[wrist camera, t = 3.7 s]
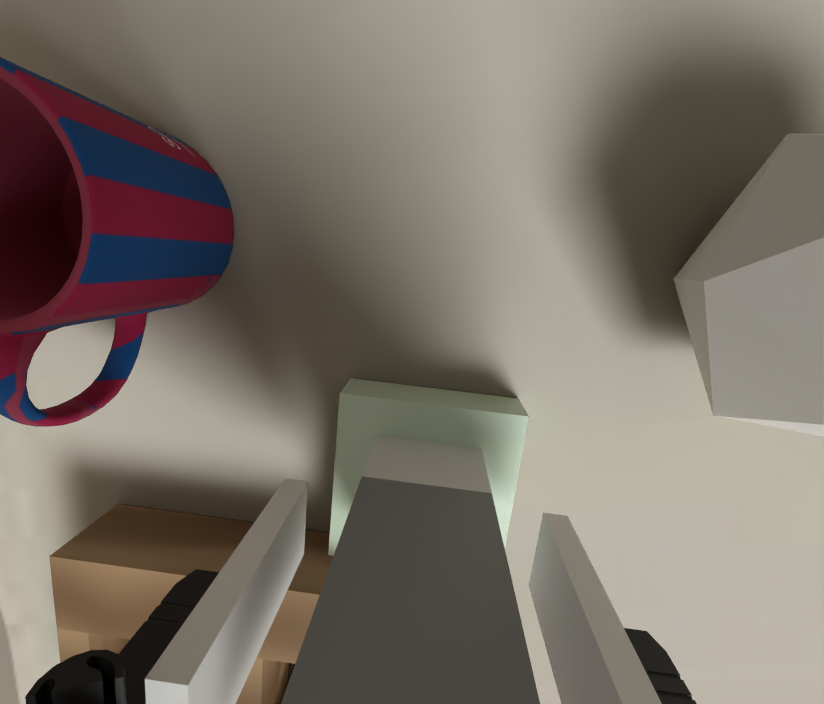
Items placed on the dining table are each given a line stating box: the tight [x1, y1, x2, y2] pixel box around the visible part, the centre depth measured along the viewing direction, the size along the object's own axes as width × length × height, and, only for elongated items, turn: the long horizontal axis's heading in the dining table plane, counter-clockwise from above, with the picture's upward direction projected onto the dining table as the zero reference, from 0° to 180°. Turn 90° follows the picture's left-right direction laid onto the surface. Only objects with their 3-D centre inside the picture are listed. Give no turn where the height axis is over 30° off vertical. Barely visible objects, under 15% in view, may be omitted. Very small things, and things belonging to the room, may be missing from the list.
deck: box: [328, 378, 529, 556], centre depth 17 cm, size 7×7×2 cm
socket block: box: [49, 504, 333, 704], centre depth 19 cm, size 12×15×4 cm
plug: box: [281, 436, 540, 704], centre depth 11 cm, size 4×4×10 cm
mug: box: [0, 58, 234, 426], centre depth 13 cm, size 7×10×7 cm
